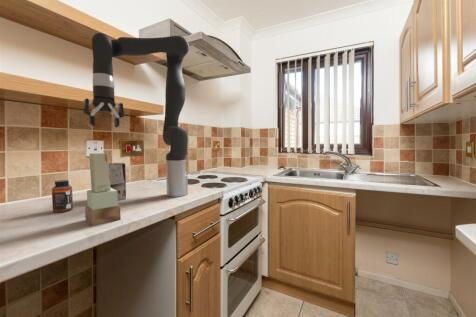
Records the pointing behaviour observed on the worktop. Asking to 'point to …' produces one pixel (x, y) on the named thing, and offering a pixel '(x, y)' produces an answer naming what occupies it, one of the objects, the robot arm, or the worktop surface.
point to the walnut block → (102, 215)
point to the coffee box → (118, 179)
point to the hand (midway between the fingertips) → (105, 126)
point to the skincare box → (99, 172)
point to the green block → (102, 199)
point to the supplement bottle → (62, 196)
